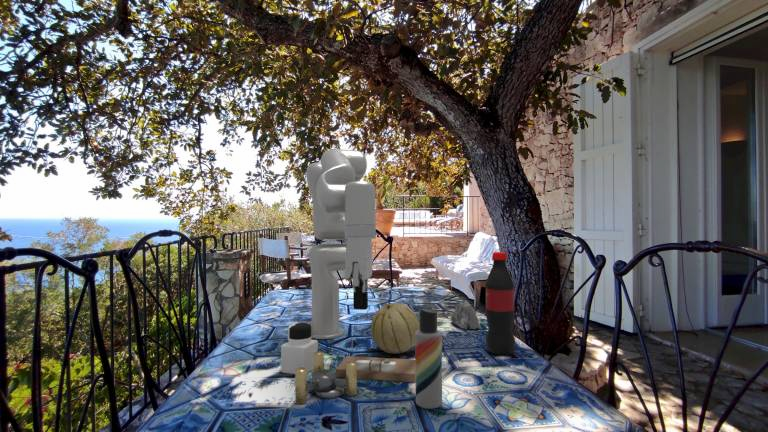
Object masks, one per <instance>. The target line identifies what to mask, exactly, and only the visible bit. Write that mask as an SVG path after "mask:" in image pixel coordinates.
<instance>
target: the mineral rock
mask: <svg viewBox="0 0 768 432" xmlns="http://www.w3.org/2000/svg"><path fill="white" fill-rule="evenodd" d="M450 321H452V323H454V325H457V326H458V327H459V328H462V329H464V330H471V329H474V330H476V329H478V328H479V327H480V324H479V323H480V322H479V318H478V315H477V313H476V311H475V309H474V308H473V306H472V305H471V304H470V303H469V301H468V300H466V299H463V301H461V302H459V303H458V306H457V307H456V308H455V310H454V311H453V312H452V315H451V317H450Z"/></svg>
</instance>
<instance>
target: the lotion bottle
mask: <svg viewBox="0 0 768 432" xmlns="http://www.w3.org/2000/svg"><path fill="white" fill-rule="evenodd" d="M418 313H419V315H418V316H419V324H420V330H418V331H416V332H415V345H414V346H415V347H414V349H415V350H414V353H415V354H414V355H415V357H414V360H415V382H414V383H415V388H414V389H415V403H416V405H417V406H418V407H420V408H422V409H430V410H431V409H434V410H435V409H438V408H440V407H441V405H442V404H443V346H442V345H443V335H442V332H441V331H440V330H438V312H437V311H435V310H433V309H431V308H430V309H429V308H421V309H420V311H419V312H418Z"/></svg>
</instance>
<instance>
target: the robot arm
mask: <svg viewBox="0 0 768 432" xmlns="http://www.w3.org/2000/svg"><path fill="white" fill-rule="evenodd" d="M320 157H321V158H320V161H319V162H313V163H310V164H309V165H308V166H307V169H306V173H305V174H306V183H307V187H308V190H309V192H310V196H311V200H312V231H313V235H314V237H315V238H316V239H317V240H322V241H335V240H336V241H339V240H341V241H344V243H320V244H319V243H318V244H316V245H313V246H312V247H311V248H310V249H309V252H308V260H309V265H310V273H311V274H310V275H311V276H310V277H311V320H310V321H305V320H304V321H303V320H302V321H301V322H300V323H308V324H310V325H311V339H314V340H328V339H335V338H339V337H341V336H342V335H344V333H345V331H344V329H343V328H342V327H340V283H339V280H338V279H337V278H336V276H335V275H333V272H337V271H344V279H345V280H346V281H351V280H352V289H353V290H352V291H353V292H352V293H353V296H352V297H353V310H363V311H365V310H367V309H368V307H369V291H368V290H369V288H368V287H369V278H371V277H372V275H373V240H372V239H376V237H377V232H376V231H377V230H376V229H377V228H376V227H377V226H376V218H377V217H376V210H377V209H376V186H375V185H374V183H372V182H370V181H361V180H362V179H363V177H364V176H365V174H366V172H367V168H368V161H367V157H366V156H365V154H364V153H363V152H362V151H360V150H357V149H356V150H355V149H339V148H331V149H328V150H326V151H324V152H323V154H322V155H321V156H320Z"/></svg>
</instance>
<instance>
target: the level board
mask: <svg viewBox="0 0 768 432" xmlns="http://www.w3.org/2000/svg"><path fill="white" fill-rule="evenodd" d="M349 361H355V362H357V380H359V379H360V380H374V381H386V382H387V381H388V382H389V381H390V382H403V383H404V382H405V383H415V359H405V358H388V357H386V358H385V357H372V356H356V355H355V356H353V355H351V356H349V355H346V356H345V357H344V359H343V360H342V361H341V362H340V363H339V365H337V366H336V368H335V372H336V378H340V379H346V363H347V362H349Z"/></svg>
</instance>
